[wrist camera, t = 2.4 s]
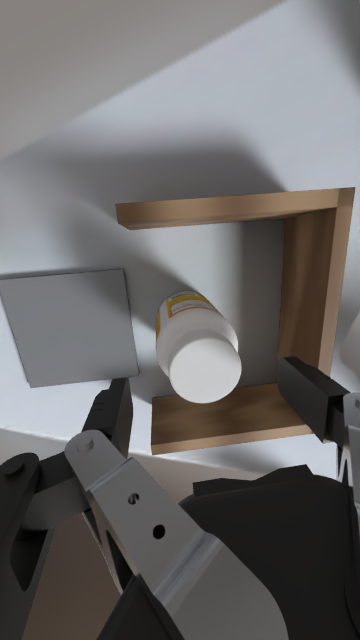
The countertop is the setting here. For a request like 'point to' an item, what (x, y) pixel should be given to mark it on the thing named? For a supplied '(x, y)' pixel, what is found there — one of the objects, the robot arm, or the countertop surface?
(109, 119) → the countertop surface
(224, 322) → the supplement bottle
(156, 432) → the open box
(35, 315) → the grey mat
